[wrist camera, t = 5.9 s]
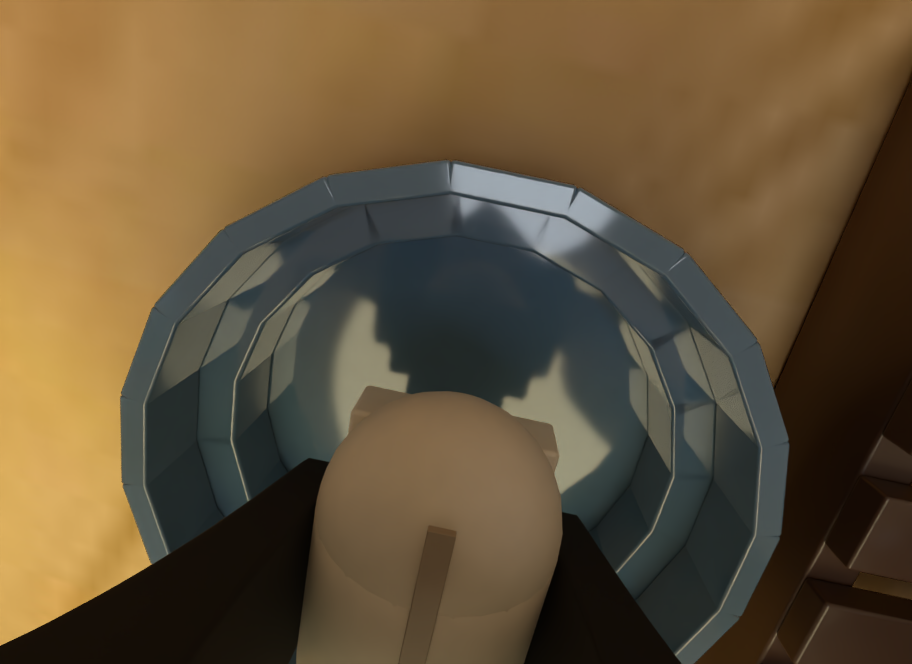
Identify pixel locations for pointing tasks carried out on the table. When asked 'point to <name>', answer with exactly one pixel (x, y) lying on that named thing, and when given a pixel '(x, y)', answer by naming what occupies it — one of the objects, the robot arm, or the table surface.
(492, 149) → the table surface
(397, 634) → the cream capsule
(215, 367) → the bowl
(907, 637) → the rack
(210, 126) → the table surface
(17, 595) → the table surface
